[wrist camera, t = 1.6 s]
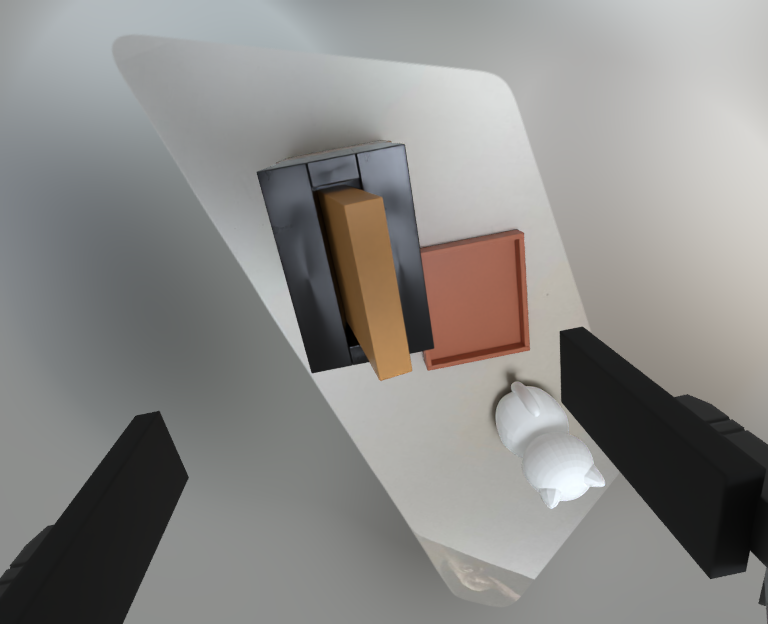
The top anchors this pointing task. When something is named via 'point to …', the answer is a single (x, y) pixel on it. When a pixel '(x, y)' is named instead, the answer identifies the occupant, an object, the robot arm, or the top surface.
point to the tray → (476, 298)
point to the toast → (366, 276)
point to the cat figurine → (545, 445)
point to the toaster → (312, 250)
